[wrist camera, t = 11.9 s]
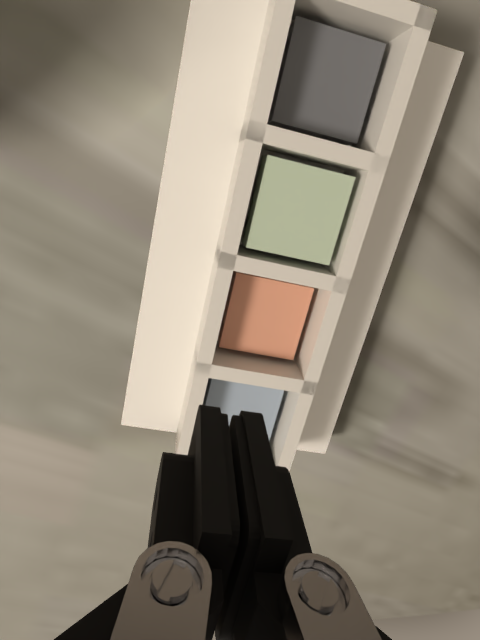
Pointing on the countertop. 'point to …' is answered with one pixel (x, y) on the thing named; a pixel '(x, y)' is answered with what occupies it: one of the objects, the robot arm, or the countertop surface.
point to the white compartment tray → (235, 200)
